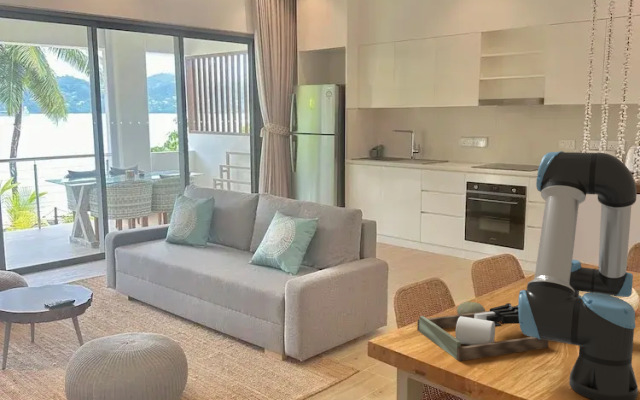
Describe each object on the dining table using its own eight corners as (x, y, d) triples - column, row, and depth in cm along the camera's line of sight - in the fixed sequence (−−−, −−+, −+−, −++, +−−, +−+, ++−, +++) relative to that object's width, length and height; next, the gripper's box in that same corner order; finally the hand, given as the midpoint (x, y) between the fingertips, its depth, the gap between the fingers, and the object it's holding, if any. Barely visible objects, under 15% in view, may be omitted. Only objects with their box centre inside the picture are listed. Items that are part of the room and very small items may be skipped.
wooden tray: (497, 319, 188) (498, 305, 187) (548, 347, 165) (549, 331, 164) (417, 330, 179) (417, 315, 178) (458, 361, 156) (459, 343, 155)
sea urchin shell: (460, 304, 198) (476, 291, 194) (475, 322, 196) (491, 310, 192) (450, 311, 191) (467, 298, 187) (466, 330, 188) (483, 317, 184)
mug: (489, 353, 161) (490, 326, 160) (454, 346, 166) (455, 320, 165) (497, 338, 172) (498, 313, 171) (464, 333, 176) (465, 308, 175)
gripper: (553, 329, 172) (487, 338, 165) (526, 315, 184) (463, 323, 177) (555, 305, 171) (488, 313, 164) (527, 293, 183) (464, 300, 176)
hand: (475, 318), depth 171 cm, fingers closed
